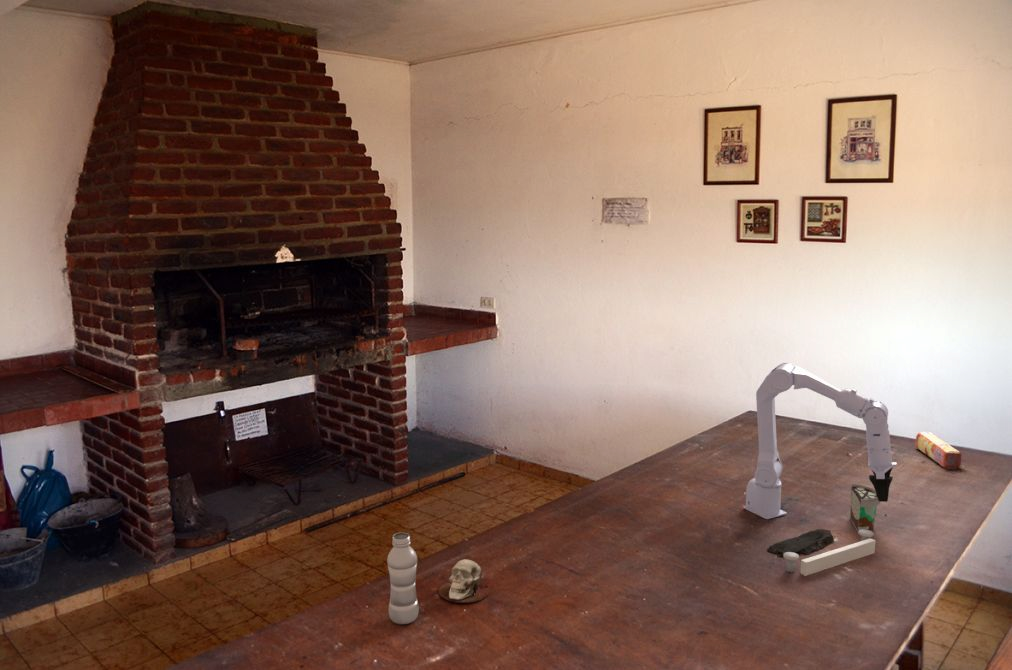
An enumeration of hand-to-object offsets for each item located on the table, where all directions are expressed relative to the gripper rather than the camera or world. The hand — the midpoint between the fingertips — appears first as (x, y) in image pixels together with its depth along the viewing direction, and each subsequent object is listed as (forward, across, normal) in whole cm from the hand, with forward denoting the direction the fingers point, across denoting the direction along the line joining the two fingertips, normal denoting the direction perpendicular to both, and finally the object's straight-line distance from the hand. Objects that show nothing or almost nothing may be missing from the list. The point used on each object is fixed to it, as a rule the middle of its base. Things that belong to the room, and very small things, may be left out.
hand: (883, 496), depth 213 cm
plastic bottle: (-2, -91, +95) cm, 132 cm away
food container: (+10, +3, +5) cm, 12 cm away
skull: (-2, -75, +89) cm, 116 cm away
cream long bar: (+9, -22, +12) cm, 27 cm away
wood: (+9, -17, +19) cm, 27 cm away
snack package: (+13, +73, -15) cm, 75 cm away
